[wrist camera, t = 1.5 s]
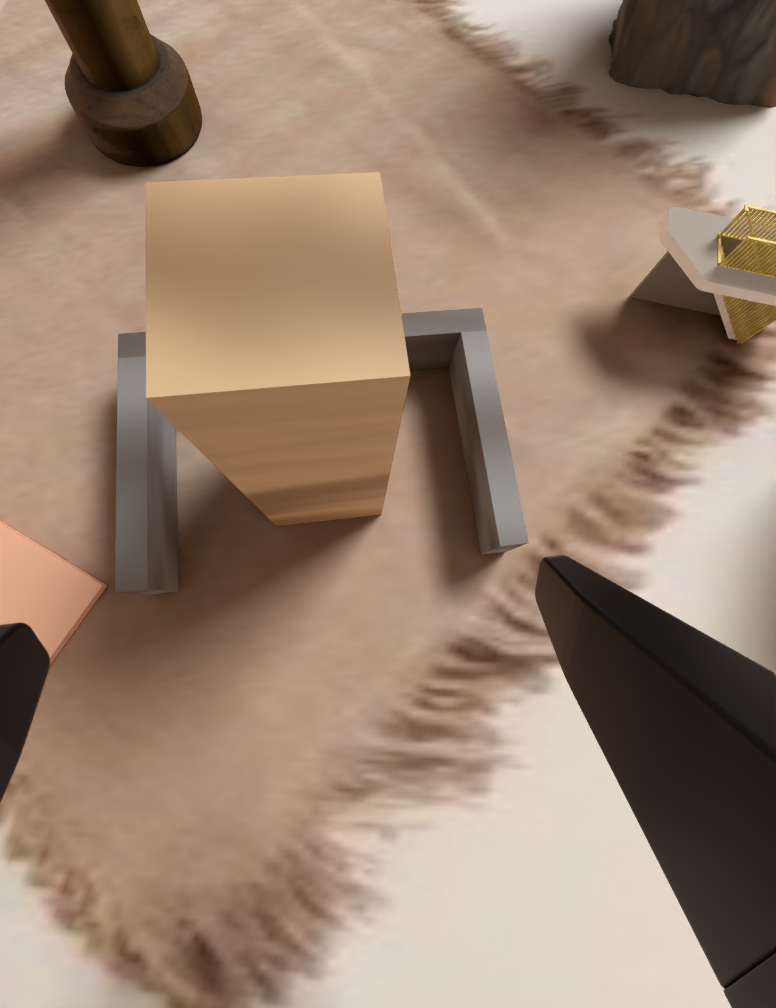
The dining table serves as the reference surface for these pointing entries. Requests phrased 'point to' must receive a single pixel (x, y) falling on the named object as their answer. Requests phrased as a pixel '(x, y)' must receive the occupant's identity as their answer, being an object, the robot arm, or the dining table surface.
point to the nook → (430, 344)
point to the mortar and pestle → (126, 82)
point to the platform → (717, 268)
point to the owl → (698, 48)
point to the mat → (43, 590)
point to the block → (279, 336)
